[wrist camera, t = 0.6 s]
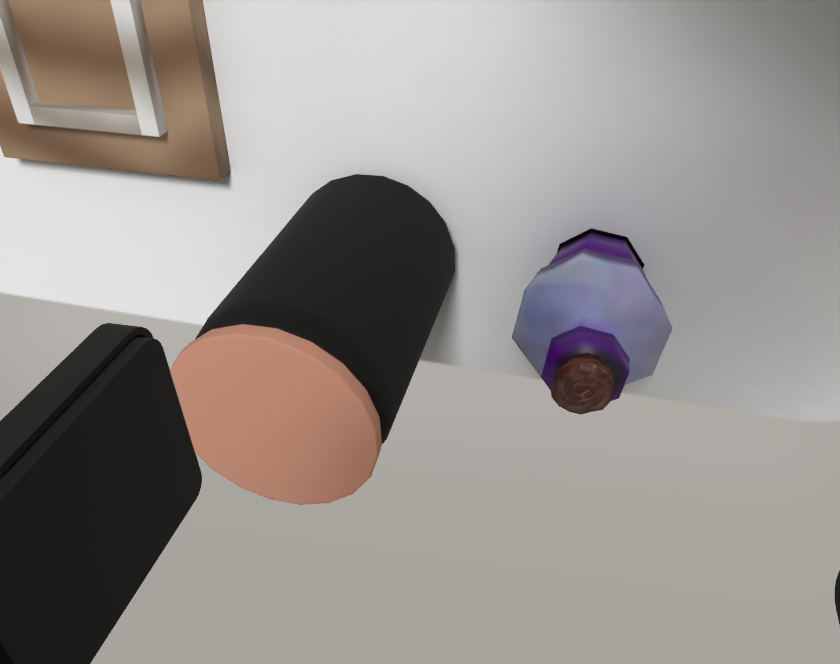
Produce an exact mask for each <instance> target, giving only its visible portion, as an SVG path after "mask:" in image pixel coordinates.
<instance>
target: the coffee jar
mask: <svg viewBox="0 0 840 664" xmlns="http://www.w3.org/2000/svg"><path fill="white" fill-rule="evenodd" d="M454 272H455V260H454V246H453V243H452V240H451V237H450V235H449V232H448V229H447V226H446V224H445V222H444V220H443V219H442V218H441V216H440V215H439V214H438V212H437V211H436V210H435V208H434V207H433V206H432V204H431V203H430V202H429V201H428V200H426V199H425V198H424V197H422V196H421V195H420V194H418V193H417V192H416V191H414V190H413V189H412V188H410V187H409V186H407V185H405V184H402V183H400V182H397V181H394V180H392V179H389V178H387V177H384V176H373V175H360V174H357V175H352V176H348V177H344V178H340V179H336V180H332V181H330V182H329V183H327V184H326V185H324V186H323V187H321V188H320V189H318V190H317V191H316V192H314V193H313V194H312V195H311V196H310V197H309V198H308V200H307V201H306V202H305V203H304V204H303V206H302V207H301V208H300V209H299V210H298V212H297V213H296V214H295V215H294V216H293V217H292V219H291V220H290V221H289V222H288V223H287V225H286V226H285V227H284V228H283V229H282V231H281V232H280V233H279V234H278V235H277V237H276V238H275V239H274V240H273V241H272V243H271V244H270V245H269V246H268V247H267V249H266V250H265V251H264V252H263V253H262V255H261V256H260V257H259V258H258V259H257V261H256V262H255V263H254V264H253V265H252V266H251V268H250V269H249V270H248V271H247V272H246V274H245V275H244V276H243V277H242V278H241V280H240V281H239V282H238V283H237V284H236V286H235V287H234V288H233V289H232V290H231V292H230V293H229V294H228V295H227V296H226V298H225V299H224V300H223V301H222V302H221V304H220V305H219V306H218V307H217V308H216V310H215V311H214V312H213V313H212V314H211V316H210V317H209V318H208V319H207V321H206V323H205V324H204V326H203V327H202V329H201V331H200V332H199V334H198V335H197V337H196V339H195V340H194V341H192V342H191V343H189V344H188V345H187V346H186V347H185V348H184V349H183V350H182V351H181V352H180V354H179V355H178V357H177V359H176V360H175V362H174V364H173V365H172V367H171V369H170V373H171V376H172V379H173V382H174V386H175V389H176V392H177V395H178V399H179V402H180V405H181V408H182V412H183V415H184V418H185V421H186V425H187V428H188V431H189V434H190V438H191V441H192V444H193V447H194V451H195V453H196V454H197V455H198V456H199V457H200V458H201V459H202V460H203V461H204V462H205V463H206V464H207V465H208V466H209V467H211V468H212V469H213V470H214V471H216V472H217V473H219V474H220V475H222V476H223V477H225V478H227V479H228V480H230V481H231V482H233V483H234V484H236V485H238V486H239V487H241V488H243V489H246V490H248V491H251V492H253V493H256V494H258V495H261V496H263V497H266V498H269V499H272V500H278V501H283V502H289V503H294V504H300V505H302V504H319V503H329V502H332V501H335V500H338V499H340V498H343V497H346V496H348V495H351V494H353V493H354V492H355V491H356V490H357V489H358V488H359V487H360V486H361V485H362V484H364V483H365V482H366V481H367V480H368V479H369V478H370V477H371V475H372V472H373V469H374V467H375V464H376V461H377V458H378V456H379V452H380V449H381V445H382V444H383V443H384V442H385V440H386V439H387V437H388V434H389V432H390V429H391V427H392V425H393V422H394V420H395V417H396V414H397V412H398V410H399V407H400V405H401V403H402V400H403V398H404V395H405V393H406V390H407V388H408V386H409V383H410V381H411V378H412V376H413V373H414V371H415V368H416V366H417V363H418V361H419V359H420V356H421V354H422V351H423V349H424V346H425V344H426V342H427V339H428V337H429V334H430V332H431V329H432V327H433V324H434V322H435V320H436V317H437V315H438V312H439V310H440V307H441V305H442V303H443V300H444V298H445V295H446V293H447V290H448V288H449V285H450V282H451V280H452V277H453V274H454Z"/></svg>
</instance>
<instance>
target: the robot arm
mask: <svg viewBox="0 0 840 664" xmlns="http://www.w3.org/2000/svg"><path fill="white" fill-rule="evenodd" d="M201 483H202V475H201V471H200V467H199V464H198V460H197V457H196V454H195V451H194V447H193V444H192V441H191V438H190V434H189V431H188V428H187V425H186V421H185V418H184V415H183V412H182V408H181V405H180V402H179V399H178V395H177V392H176V389H175V386H174V382H173V379H172V376H171V373H170V369H169V366H168V363H167V360H166V356H165V353H164V350H163V347H162V345H161V343H160V342H159V341H158V340H156V339H154V338H153V336H152V334H151V333H150V332H149V331H148V330H147V329H146V328H143V327H137V326H128V325H120V324H111V323H107V324H102V325H101V326H99V327H98V328H97V329H95V330H94V331H93V332H92V333H91V334H90V335H89V336H88V337H87V338H86V339H85V340H84V341H83V342H82V343H81V344H80V345H79V346H78V347H77V348H76V349H75V350H74V351H73V352H71V353H70V354H69V355H68V356H67V357H66V358H65V359H64V360H63V361H62V362H61V363H60V364H59V365H58V366H57V367H56V368H55V369H54V370H53V371H52V372H51V373H50V374H49V375H48V376H47V377H46V378H45V379H44V380H43V381H41V382H40V384H38V385H37V386H36V387H35V388H34V389H33V390H32V391H31V392H30V393H29V394H28V395H27V396H26V397H25V398H24V399H23V400H22V401H21V402H20V403H19V404H18V405H17V406H16V407H15V408H14V409H13V410H11V411H10V412H9V413H8V414H7V415H6V416H5V417H4V418H3V419H2V420H1V421H0V664H90V663H91V661H92V660H93V658H94V656H95V655H96V653H97V652H98V650H99V649H100V647H101V646H102V644H103V643H104V641H105V639H106V638H107V637H108V635H109V633H110V632H111V630H112V629H113V627H114V626H115V624H116V623H117V621H118V620H119V618H120V616H121V615H122V613H123V612H124V610H125V609H126V607H127V606H128V604H129V602H130V601H131V599H132V598H133V596H134V595H135V593H136V592H137V590H138V588H139V587H140V585H141V584H142V582H143V581H144V579H145V578H146V576H147V574H148V573H149V571H150V570H151V568H152V566H153V565H154V564H155V562H156V560H157V559H158V557H159V556H160V554H161V553H162V551H163V550H164V548H165V547H166V545H167V543H168V542H169V540H170V539H171V537H172V536H173V534H174V533H175V531H176V529H177V528H178V526H179V525H180V523H181V522H182V520H183V519H184V517H185V515H186V514H187V512H188V511H189V509H190V508H191V506H192V505H193V503H194V502H195V500H196V498H197V496H198V494H199V491H200V488H201ZM835 604H836V610H837V615H838V619H839V624H840V571H839V574H838V577H837V579H836V585H835Z"/></svg>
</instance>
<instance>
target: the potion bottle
mask: <svg viewBox="0 0 840 664" xmlns="http://www.w3.org/2000/svg"><path fill="white" fill-rule="evenodd" d="M643 267H644V264H643V262H642V260H641V259H640V257H639V256H638V254H637V252H636V251H635V249H634V248H633V246H632V244H631V243H630V241H629V240H628V238H627V237H624V236H620V235H616V234H611V233H607V232H603V231H599V230H595V229H589V230H587V231H585V232H583V233H581V234H579V235H577V236H575V237H573V238H571V239H569V240H567V241H565V242H563V243H561V244H560V245H559V248H558V252H557V255H556V256H555V258H554V259H553V260H552V262H551V263H550V264H549V265H548V266H546V267H544V268H541V269H540V271H539V272H538V273H537V275H536V276H535V277H534V279H533V280H532V281H531V283H530V284H529V285H528V287H527V288H526V289H525V291H524V295H523V298H522V302H521V306H520V309H519V313H518V317H517V320H516V324H515V328H514V332H513V335H512V338H513V340H514V341H515V342H516V344H517V345H518V347H519V348H520V349H521V351H522V352H523V353H524V355H525V356H526V357H527V359H528V360H529V361H530V363H531V364H532V365H533V367H534V368H535V370H536V371H537V372H538V374H539V375H540V376H541V378H542V379H543V380H544V382H545V383H546V384H547V386H548V387H549V389H550V390H551V395H552V398H553V399H554V400H555V402H556V403H557V404H558V405H559V406H560V407H562V408H564V409H566V410H567V411H569V412H573V413H578V414H584V413H588V412H591V411H597V410H603V409H604V407H605V406H607V405H608V403H609V402H610V401H612V400H615V399H618V398H619V397H620V394H621V392H622V389H623V387H624V385H625V384H627V383H630V382H633V381H636V380H638V379H641V378H644V377H647V376H649V375H652V373H653V371H654V369H655V367H656V364H657V362H658V360H659V357H660V355H661V353H662V351H663V348H664V346H665V344H666V341H667V339H668V337H669V335H670V332H671V330H672V326H671V324H670V321H669V319H668V317H667V315H666V312H665V310H664V308H663V306H662V303H661V301H660V299H659V298H658V296H657V295H656V293H655V292H654V290H653V288H652V287H651V285H650V284H649V282H648V280H647V278H646V276H645V274H644V272H643Z"/></svg>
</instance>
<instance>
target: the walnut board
mask: <svg viewBox="0 0 840 664" xmlns="http://www.w3.org/2000/svg"><path fill="white" fill-rule="evenodd" d="M0 146H1V149H2V152H3V154H4V157H9V158H18V159H28V160H37V161H46V162H55V163H64V164H73V165H82V166H91V167H101V168H110V169H119V170H128V171H137V172H146V173H155V174H165V175H174V176H183V177H192V178H201V179H210V180H219V181H220V180H221V179H222V178H223V177H225V176H226V175H227V174H228V173H229V172H230V165H229V159H228V153H227V147H226V141H225V135H224V129H223V123H222V117H221V111H220V105H219V99H218V93H217V87H216V81H215V75H214V69H213V63H212V57H211V51H210V45H209V39H208V33H207V27H206V21H205V15H204V9H203V3H202V0H0Z"/></svg>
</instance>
